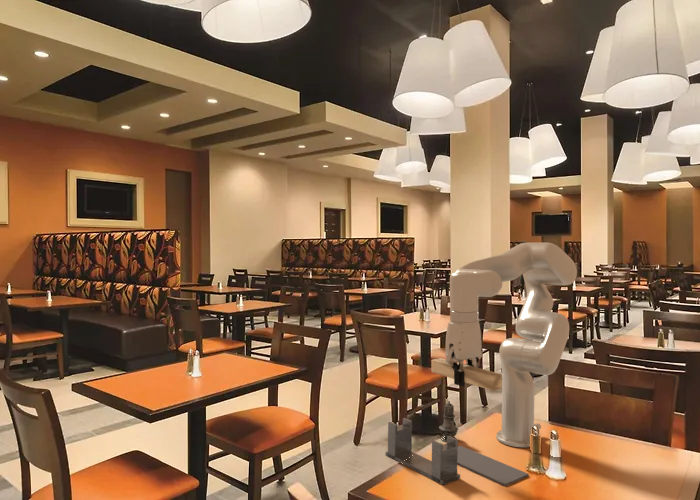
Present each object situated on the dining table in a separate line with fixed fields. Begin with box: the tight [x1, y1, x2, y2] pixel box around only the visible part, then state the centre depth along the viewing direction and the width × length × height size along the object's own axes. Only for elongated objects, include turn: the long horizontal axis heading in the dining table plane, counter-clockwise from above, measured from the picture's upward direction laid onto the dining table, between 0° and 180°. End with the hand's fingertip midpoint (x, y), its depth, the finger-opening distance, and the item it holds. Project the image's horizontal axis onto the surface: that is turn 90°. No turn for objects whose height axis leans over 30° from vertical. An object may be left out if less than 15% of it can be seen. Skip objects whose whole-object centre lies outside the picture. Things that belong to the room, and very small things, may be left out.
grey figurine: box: [438, 400, 459, 443], centre depth 156 cm, size 6×6×12 cm
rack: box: [384, 417, 461, 486], centre depth 136 cm, size 6×22×10 cm, turn 37°
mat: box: [457, 445, 530, 487], centre depth 138 cm, size 10×23×1 cm, turn 37°
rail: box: [430, 357, 502, 392], centre depth 138 cm, size 4×22×4 cm, turn 35°
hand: (464, 383), depth 138 cm, fingers closed on rail, 3 cm apart
